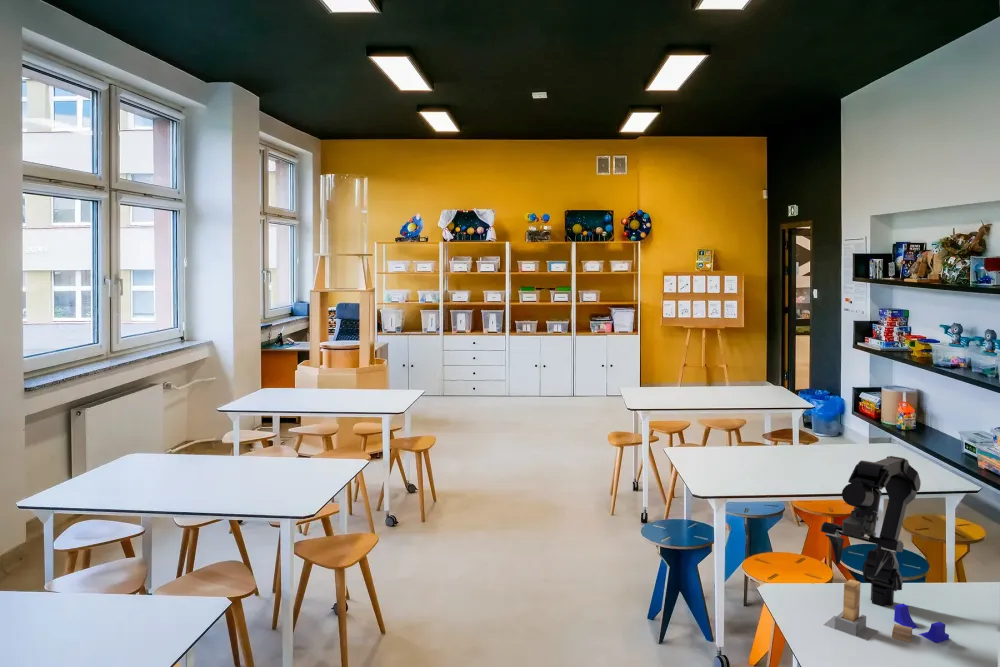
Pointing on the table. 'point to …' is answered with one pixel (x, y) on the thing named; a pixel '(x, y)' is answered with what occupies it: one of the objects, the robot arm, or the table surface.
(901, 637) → the upper offcut
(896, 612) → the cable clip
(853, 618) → the tall strip
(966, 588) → the table surface
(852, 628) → the rack
